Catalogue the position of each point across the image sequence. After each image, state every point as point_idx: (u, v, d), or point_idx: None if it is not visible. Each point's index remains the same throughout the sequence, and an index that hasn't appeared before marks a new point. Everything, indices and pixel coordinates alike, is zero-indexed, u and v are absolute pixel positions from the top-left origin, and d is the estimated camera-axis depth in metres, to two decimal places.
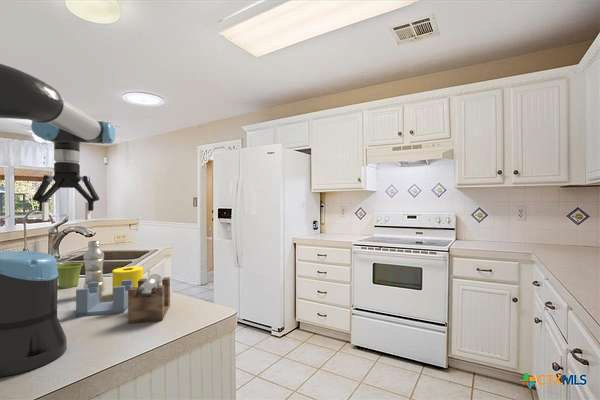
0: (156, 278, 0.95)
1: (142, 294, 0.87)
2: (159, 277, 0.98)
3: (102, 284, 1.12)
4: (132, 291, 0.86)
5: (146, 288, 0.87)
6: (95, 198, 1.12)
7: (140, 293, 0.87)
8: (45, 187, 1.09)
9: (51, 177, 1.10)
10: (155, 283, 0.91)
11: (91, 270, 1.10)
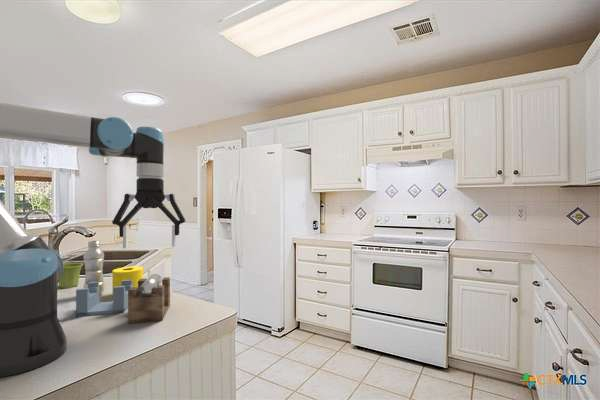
0: (156, 278, 0.95)
1: (142, 294, 0.87)
2: (159, 277, 0.98)
3: (102, 284, 1.12)
4: (132, 291, 0.86)
5: (146, 288, 0.87)
6: (183, 220, 0.95)
7: (140, 293, 0.87)
8: (126, 208, 0.92)
9: (133, 196, 0.92)
10: (155, 283, 0.91)
11: (91, 270, 1.10)
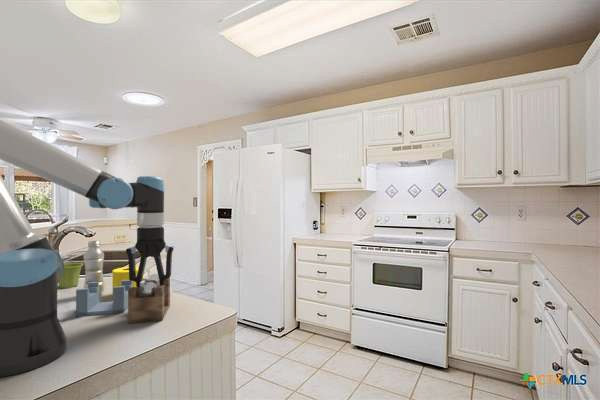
0: (156, 278, 0.95)
1: (142, 294, 0.87)
2: None
3: (102, 284, 1.12)
4: (132, 291, 0.86)
5: (146, 288, 0.87)
6: (168, 276, 0.93)
7: (140, 293, 0.87)
8: (134, 261, 0.92)
9: (133, 248, 0.92)
10: (155, 283, 0.91)
11: (91, 270, 1.10)
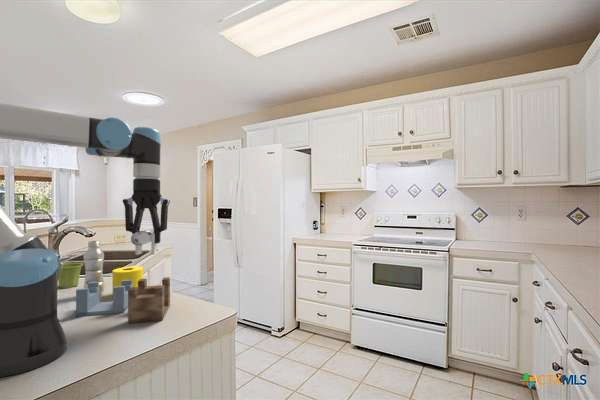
0: (153, 231, 0.95)
1: (134, 242, 0.87)
2: None
3: (102, 284, 1.12)
4: (132, 291, 0.86)
5: (138, 237, 0.87)
6: (162, 228, 0.93)
7: (132, 242, 0.87)
8: (131, 212, 0.93)
9: (130, 199, 0.93)
10: (149, 234, 0.91)
11: (91, 270, 1.10)
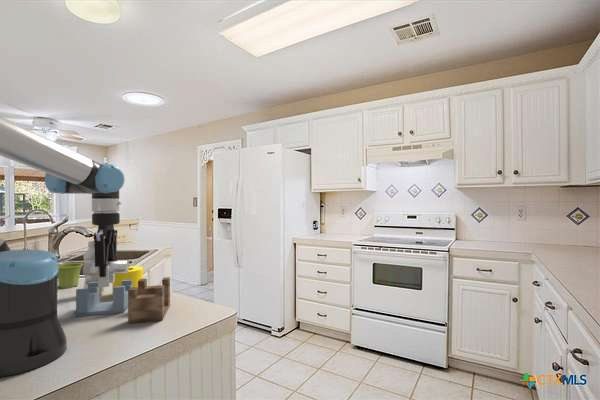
0: (110, 263, 0.96)
1: None
2: (120, 264, 0.97)
3: None
4: (132, 291, 0.86)
5: None
6: None
7: None
8: None
9: None
10: None
11: None
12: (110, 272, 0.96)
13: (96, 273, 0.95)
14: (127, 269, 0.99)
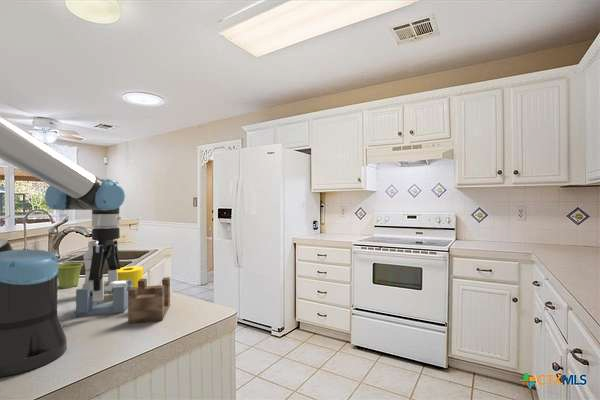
0: (109, 284, 0.96)
1: None
2: (119, 284, 0.96)
3: None
4: (132, 291, 0.86)
5: None
6: None
7: None
8: None
9: None
10: None
11: None
12: (109, 292, 0.96)
13: None
14: (126, 289, 0.99)
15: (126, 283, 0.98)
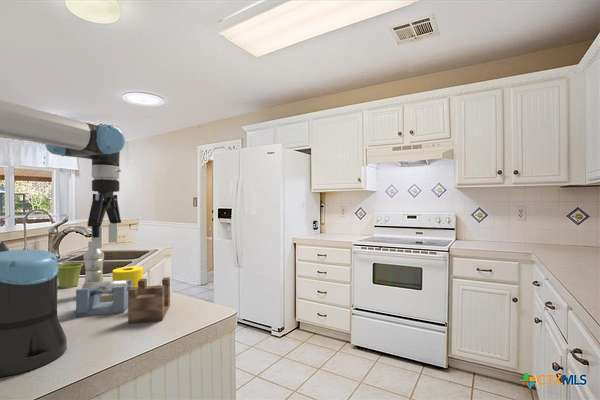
0: (109, 283, 0.96)
1: None
2: (119, 284, 0.96)
3: None
4: (132, 291, 0.86)
5: None
6: (88, 222, 0.88)
7: None
8: None
9: None
10: (96, 287, 0.95)
11: (91, 270, 1.10)
12: (109, 292, 0.96)
13: (95, 293, 0.95)
14: (126, 289, 0.99)
15: (126, 283, 0.98)
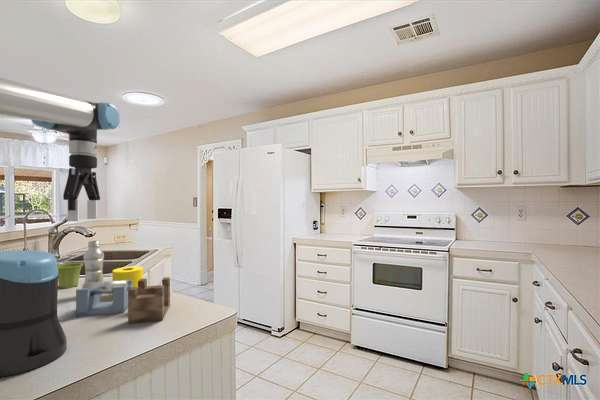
0: (109, 284, 0.96)
1: None
2: (119, 284, 0.96)
3: None
4: (132, 291, 0.86)
5: None
6: None
7: None
8: None
9: None
10: (96, 287, 0.95)
11: (91, 270, 1.10)
12: (109, 292, 0.96)
13: (95, 293, 0.95)
14: (126, 289, 0.99)
15: (126, 283, 0.98)
